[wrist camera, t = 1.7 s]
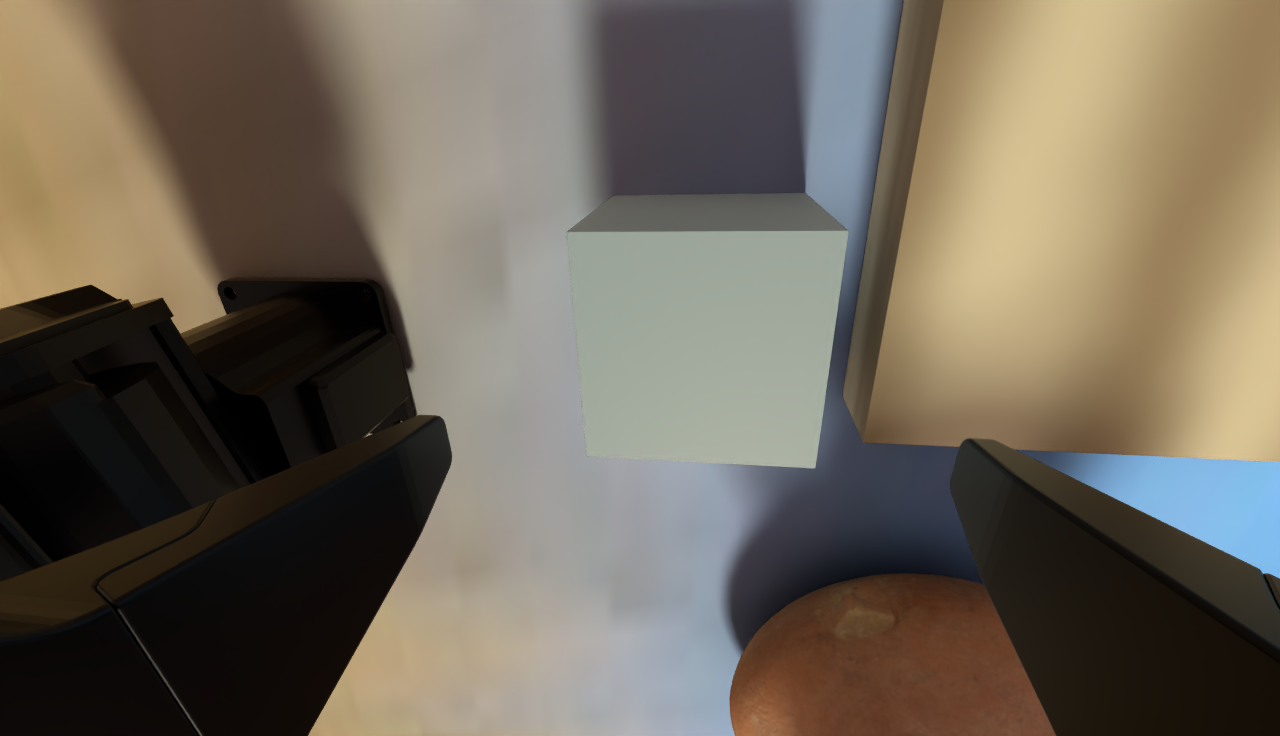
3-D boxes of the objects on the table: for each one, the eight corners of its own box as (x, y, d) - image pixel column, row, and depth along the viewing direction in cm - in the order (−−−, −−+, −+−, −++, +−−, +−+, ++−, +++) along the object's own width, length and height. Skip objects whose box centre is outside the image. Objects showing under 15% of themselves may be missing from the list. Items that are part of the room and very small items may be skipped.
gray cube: (622, 362, 20) (586, 456, 14) (614, 195, 17) (566, 231, 12) (787, 367, 19) (815, 468, 13) (805, 192, 16) (848, 230, 11)
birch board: (842, 395, 19) (863, 442, 16) (905, -10, 14) (951, -40, 11) (1222, 409, 17) (1315, 463, 14) (1458, -44, 12) (1671, -90, 9)
